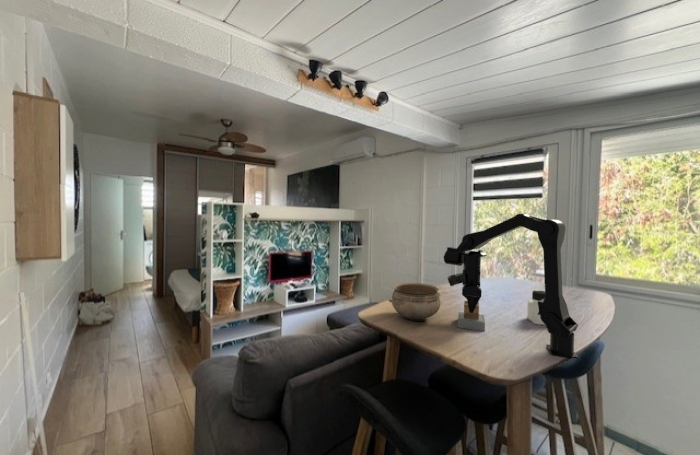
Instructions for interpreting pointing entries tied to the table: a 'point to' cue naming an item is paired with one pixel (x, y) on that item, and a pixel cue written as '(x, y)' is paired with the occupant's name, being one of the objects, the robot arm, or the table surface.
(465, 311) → the walnut cube
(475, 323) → the grey-green flat square block
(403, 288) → the cooking pot
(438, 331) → the table surface
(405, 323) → the table surface
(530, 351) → the table surface
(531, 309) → the medicine bottle
